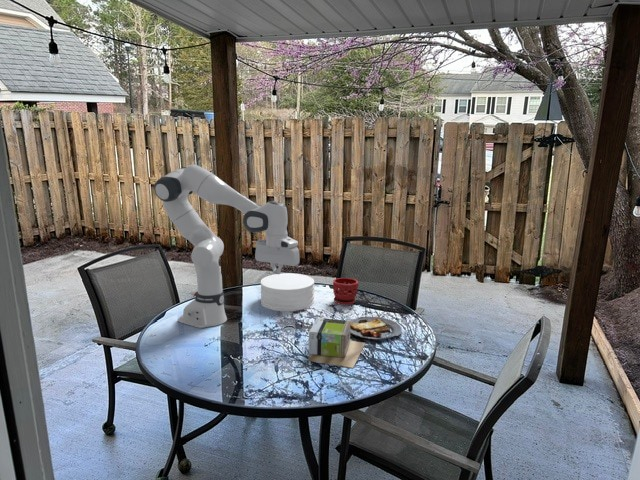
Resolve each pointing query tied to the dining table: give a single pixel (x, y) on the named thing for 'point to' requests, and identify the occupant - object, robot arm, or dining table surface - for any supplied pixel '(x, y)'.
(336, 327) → the tea box
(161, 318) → the dining table surface
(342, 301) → the plant pot
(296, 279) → the plate stack
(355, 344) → the cloth mat
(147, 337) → the dining table surface
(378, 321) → the food plate
